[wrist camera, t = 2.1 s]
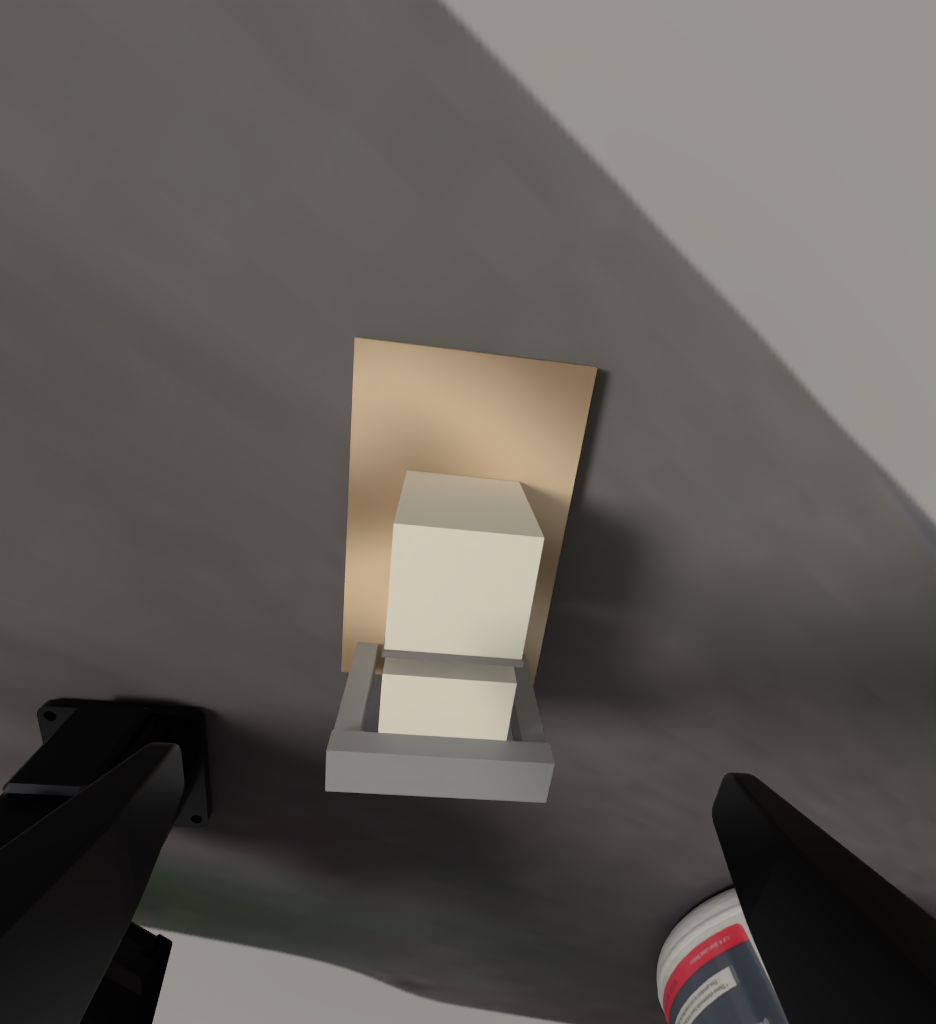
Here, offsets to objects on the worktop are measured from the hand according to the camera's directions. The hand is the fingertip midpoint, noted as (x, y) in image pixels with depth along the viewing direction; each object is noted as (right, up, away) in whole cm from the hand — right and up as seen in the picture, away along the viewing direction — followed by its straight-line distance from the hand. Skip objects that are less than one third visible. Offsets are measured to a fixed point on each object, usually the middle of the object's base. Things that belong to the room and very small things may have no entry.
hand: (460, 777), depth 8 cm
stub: (0, +4, +10) cm, 11 cm away
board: (0, +4, +11) cm, 12 cm away
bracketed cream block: (-1, -1, +12) cm, 12 cm away
